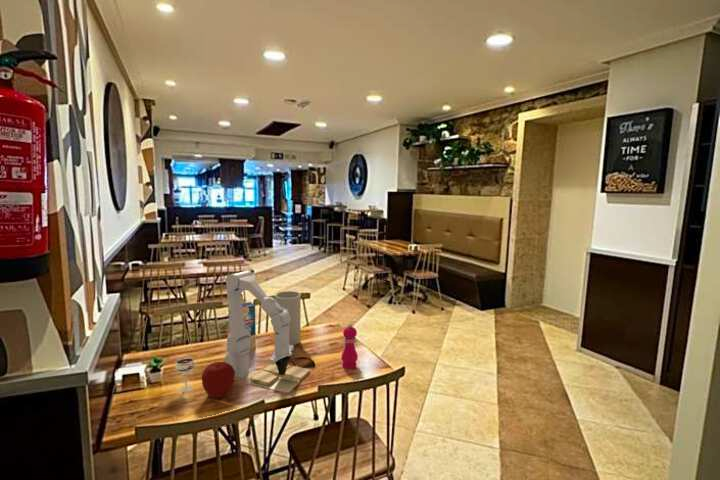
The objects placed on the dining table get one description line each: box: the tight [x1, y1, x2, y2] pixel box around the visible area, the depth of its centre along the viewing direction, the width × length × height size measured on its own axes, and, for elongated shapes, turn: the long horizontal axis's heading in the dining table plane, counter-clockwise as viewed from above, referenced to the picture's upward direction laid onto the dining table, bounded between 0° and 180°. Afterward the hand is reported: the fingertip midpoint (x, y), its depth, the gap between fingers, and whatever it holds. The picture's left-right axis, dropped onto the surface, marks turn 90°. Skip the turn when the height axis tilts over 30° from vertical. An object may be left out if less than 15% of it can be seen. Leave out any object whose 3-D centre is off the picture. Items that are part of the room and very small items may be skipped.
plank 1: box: [249, 370, 279, 385], centre depth 156 cm, size 9×8×1 cm
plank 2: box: [272, 371, 301, 383], centre depth 154 cm, size 9×8×1 cm
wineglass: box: [174, 355, 196, 393], centre depth 148 cm, size 7×7×12 cm
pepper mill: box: [341, 323, 358, 370], centre depth 169 cm, size 7×7×20 cm
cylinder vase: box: [274, 290, 302, 346], centre depth 194 cm, size 12×12×25 cm
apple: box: [201, 361, 236, 400], centre depth 144 cm, size 12×12×13 cm
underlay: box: [246, 369, 312, 394], centre depth 159 cm, size 20×19×1 cm
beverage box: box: [227, 301, 257, 351], centre depth 185 cm, size 7×11×22 cm, turn 124°
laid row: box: [262, 363, 311, 382], centre depth 163 cm, size 18×8×1 cm, turn 70°
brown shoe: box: [289, 345, 316, 369], centre depth 175 cm, size 18×7×7 cm, turn 33°
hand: (282, 374), depth 151 cm, fingers closed
